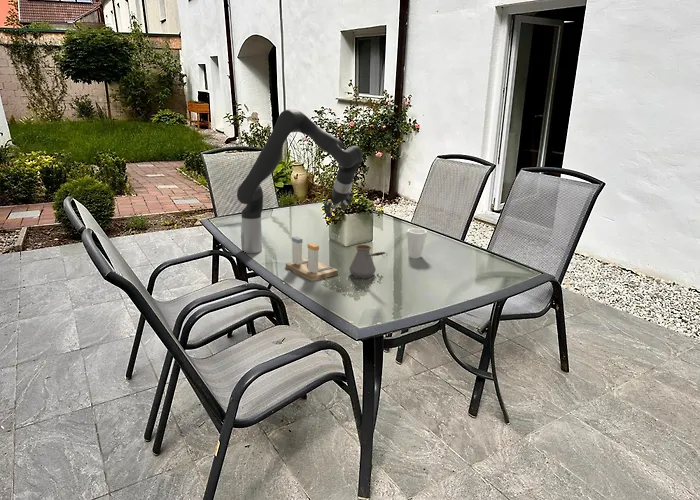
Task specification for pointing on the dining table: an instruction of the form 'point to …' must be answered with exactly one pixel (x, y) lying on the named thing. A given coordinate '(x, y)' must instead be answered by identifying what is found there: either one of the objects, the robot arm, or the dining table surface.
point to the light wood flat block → (302, 270)
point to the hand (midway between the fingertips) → (335, 213)
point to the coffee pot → (363, 262)
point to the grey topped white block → (297, 250)
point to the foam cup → (416, 242)
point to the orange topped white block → (313, 258)
